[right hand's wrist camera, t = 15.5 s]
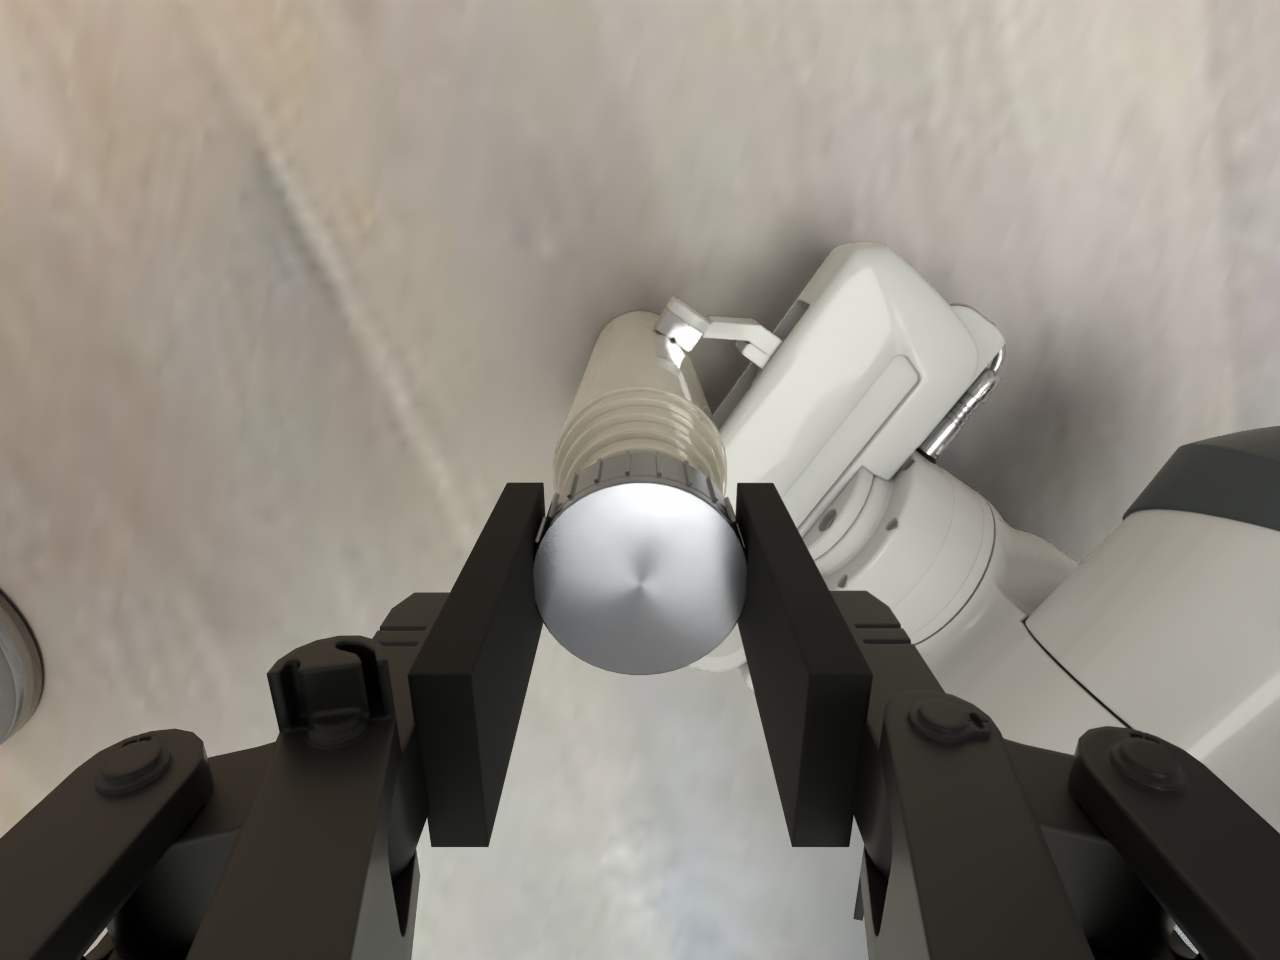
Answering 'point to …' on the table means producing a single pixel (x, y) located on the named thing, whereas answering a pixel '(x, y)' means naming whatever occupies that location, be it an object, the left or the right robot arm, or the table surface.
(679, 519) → the cap
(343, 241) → the table surface
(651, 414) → the bottle
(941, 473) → the left robot arm
